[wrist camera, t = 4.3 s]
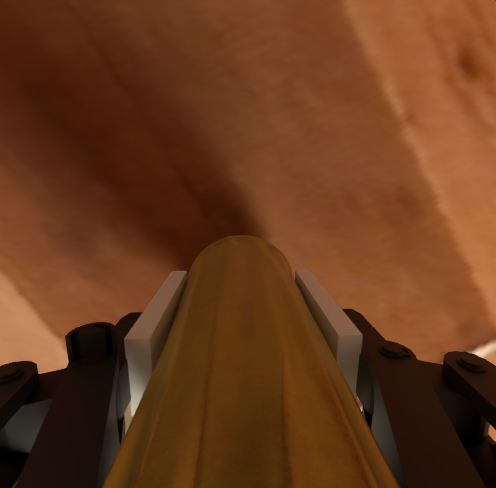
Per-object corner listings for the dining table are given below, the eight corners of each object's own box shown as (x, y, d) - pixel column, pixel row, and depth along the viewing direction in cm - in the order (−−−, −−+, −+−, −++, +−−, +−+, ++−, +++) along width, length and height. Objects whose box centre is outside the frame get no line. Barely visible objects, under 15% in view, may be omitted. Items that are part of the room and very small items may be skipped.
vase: (165, 285, 16) (-243, 892, 2) (241, 211, 16) (291, 464, 2) (240, 352, 17) (256, 1028, 4) (314, 285, 17) (708, 810, 3)
